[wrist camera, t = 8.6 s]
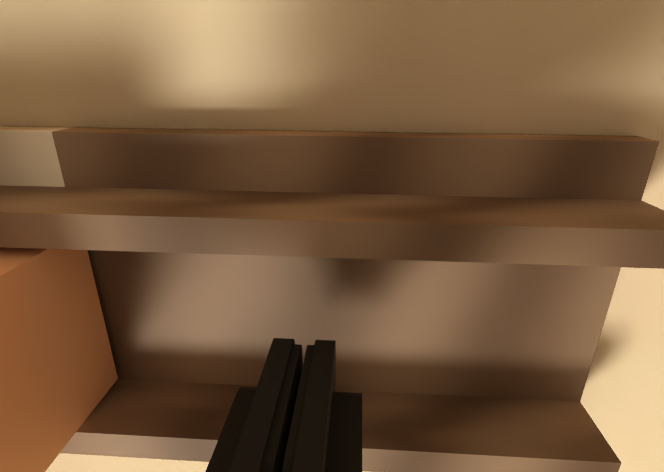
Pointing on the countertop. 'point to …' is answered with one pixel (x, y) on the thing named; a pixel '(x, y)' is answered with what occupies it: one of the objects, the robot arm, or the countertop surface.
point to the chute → (346, 278)
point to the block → (48, 353)
